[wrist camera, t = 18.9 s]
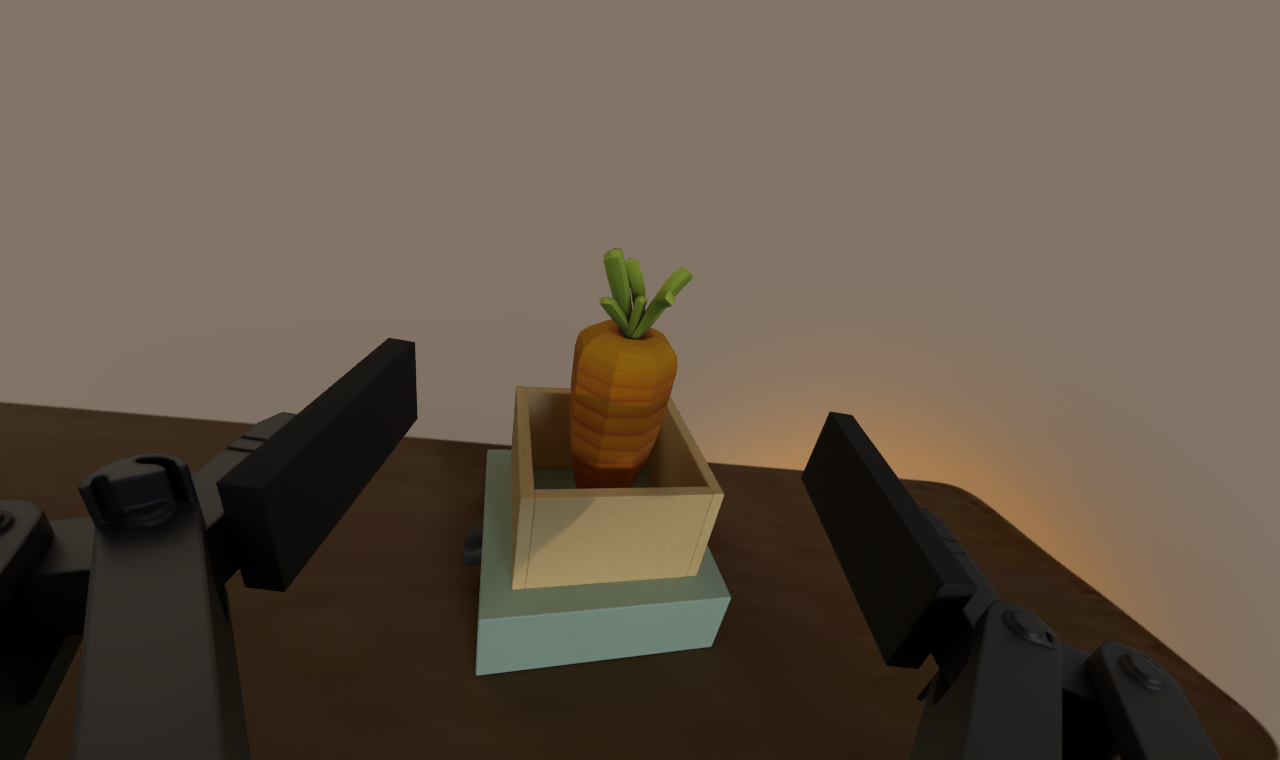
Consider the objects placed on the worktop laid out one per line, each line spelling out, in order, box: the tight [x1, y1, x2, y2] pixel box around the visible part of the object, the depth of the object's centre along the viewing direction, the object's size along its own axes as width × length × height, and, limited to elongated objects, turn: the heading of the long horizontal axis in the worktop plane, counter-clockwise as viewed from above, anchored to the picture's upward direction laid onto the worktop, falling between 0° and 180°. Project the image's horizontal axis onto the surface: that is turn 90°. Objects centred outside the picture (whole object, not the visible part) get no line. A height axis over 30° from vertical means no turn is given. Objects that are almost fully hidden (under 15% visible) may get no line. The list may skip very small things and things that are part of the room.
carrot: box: [569, 248, 693, 489], centre depth 24 cm, size 5×5×15 cm
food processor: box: [464, 386, 731, 676], centre depth 27 cm, size 13×12×10 cm
